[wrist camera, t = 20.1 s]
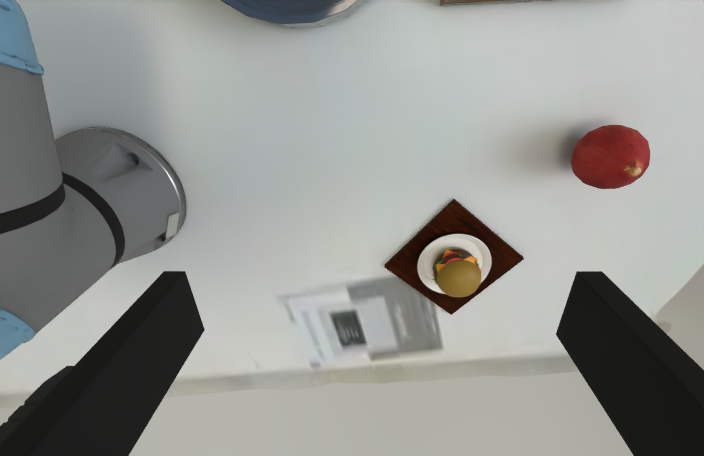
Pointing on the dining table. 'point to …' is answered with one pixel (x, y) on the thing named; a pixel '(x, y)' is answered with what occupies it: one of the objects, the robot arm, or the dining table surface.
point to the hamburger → (453, 258)
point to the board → (478, 2)
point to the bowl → (297, 11)
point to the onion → (610, 157)
